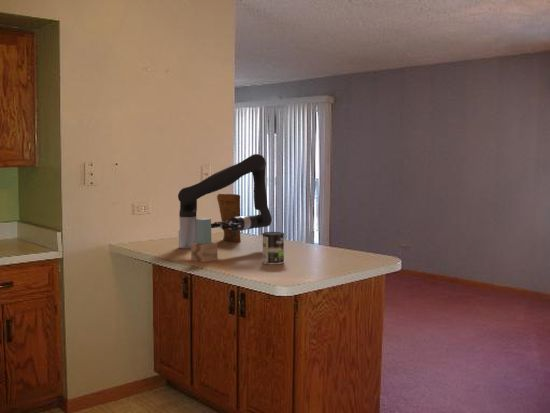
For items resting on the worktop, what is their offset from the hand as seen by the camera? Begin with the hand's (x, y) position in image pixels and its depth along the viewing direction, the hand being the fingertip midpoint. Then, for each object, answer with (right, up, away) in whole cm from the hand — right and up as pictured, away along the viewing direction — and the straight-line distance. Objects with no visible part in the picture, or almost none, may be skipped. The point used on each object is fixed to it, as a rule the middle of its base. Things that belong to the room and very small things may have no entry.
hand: (216, 226), depth 282 cm
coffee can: (+28, -17, -12) cm, 35 cm away
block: (-6, -16, -5) cm, 17 cm away
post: (-6, -8, -5) cm, 11 cm away
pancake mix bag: (+3, -11, +55) cm, 56 cm away
